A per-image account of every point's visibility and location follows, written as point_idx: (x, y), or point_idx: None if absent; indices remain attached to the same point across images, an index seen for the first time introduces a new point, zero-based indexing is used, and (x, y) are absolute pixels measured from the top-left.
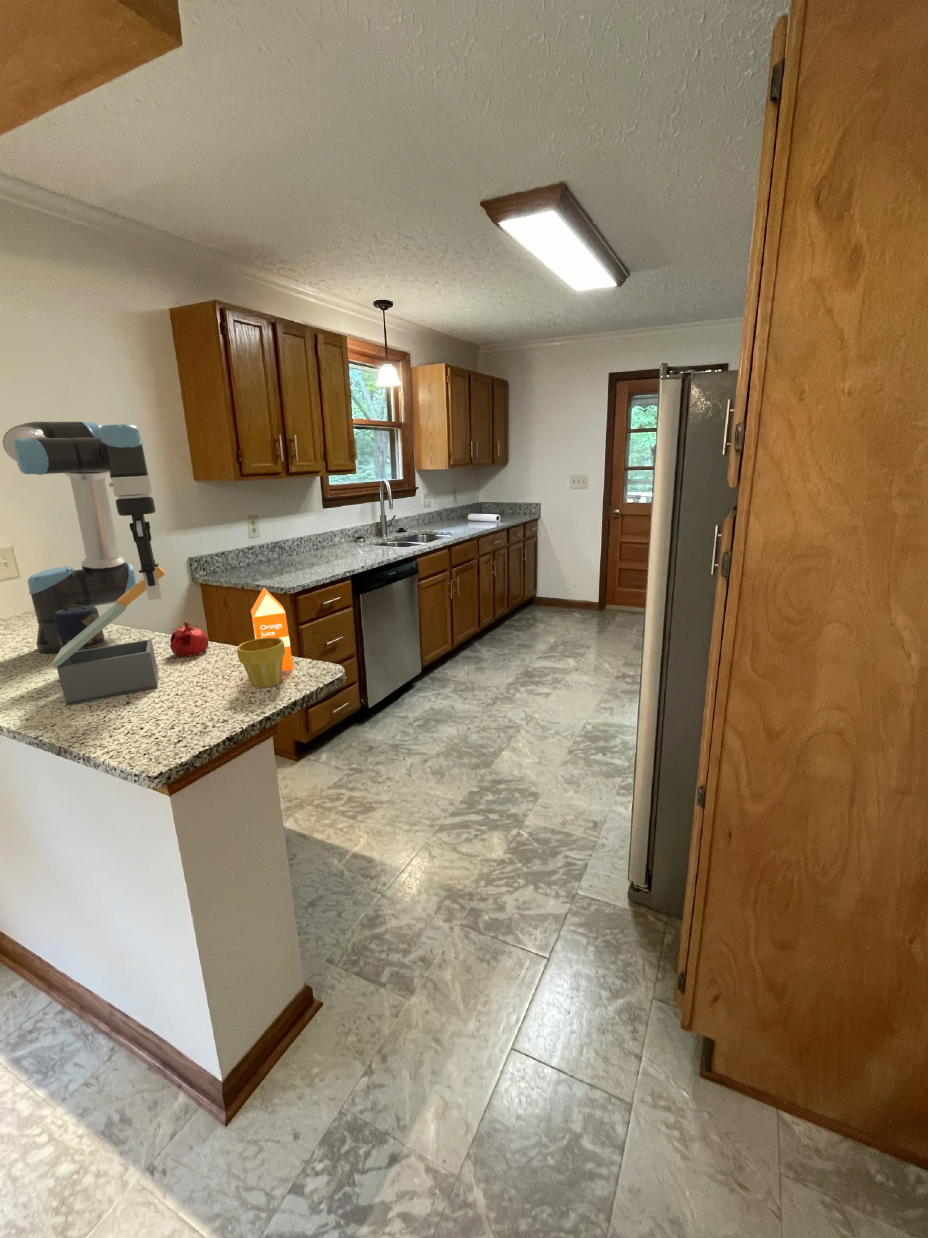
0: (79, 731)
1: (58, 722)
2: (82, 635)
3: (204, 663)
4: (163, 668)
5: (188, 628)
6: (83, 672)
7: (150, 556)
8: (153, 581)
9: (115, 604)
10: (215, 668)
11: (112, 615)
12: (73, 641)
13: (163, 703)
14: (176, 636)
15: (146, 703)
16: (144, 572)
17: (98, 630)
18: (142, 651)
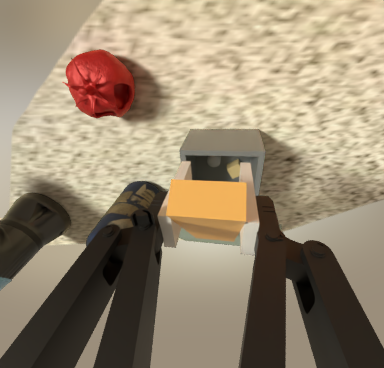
0: (340, 196)
1: (293, 211)
2: (227, 241)
3: (180, 59)
4: (173, 123)
5: (90, 87)
6: None
7: (363, 318)
8: (273, 208)
9: None
10: (221, 38)
11: None
12: (212, 241)
13: (332, 120)
14: (113, 108)
15: (311, 140)
16: (254, 250)
17: None
18: (189, 157)
